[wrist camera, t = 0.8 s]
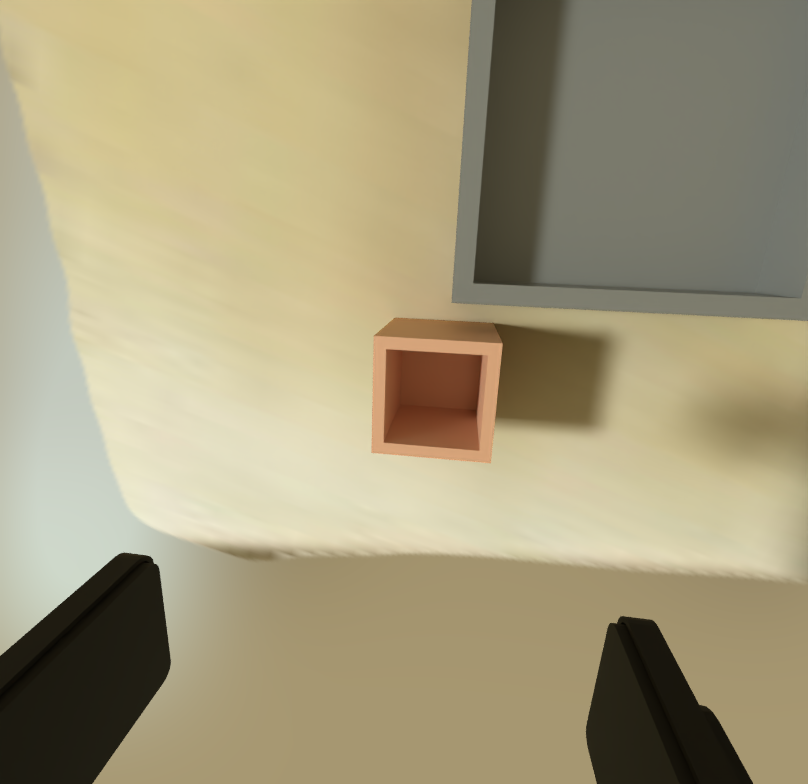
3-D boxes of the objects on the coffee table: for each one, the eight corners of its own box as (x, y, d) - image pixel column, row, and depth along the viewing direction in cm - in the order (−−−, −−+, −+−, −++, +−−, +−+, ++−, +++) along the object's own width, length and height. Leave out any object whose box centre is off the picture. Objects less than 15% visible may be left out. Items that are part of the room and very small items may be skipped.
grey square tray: (477, -55, 23) (480, -129, 18) (855, -68, 21) (958, -153, 16) (453, 295, 27) (451, 302, 23) (759, 310, 26) (818, 321, 21)
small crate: (395, 317, 28) (373, 335, 22) (493, 322, 28) (502, 343, 21) (392, 409, 30) (371, 452, 23) (484, 416, 29) (490, 463, 23)
